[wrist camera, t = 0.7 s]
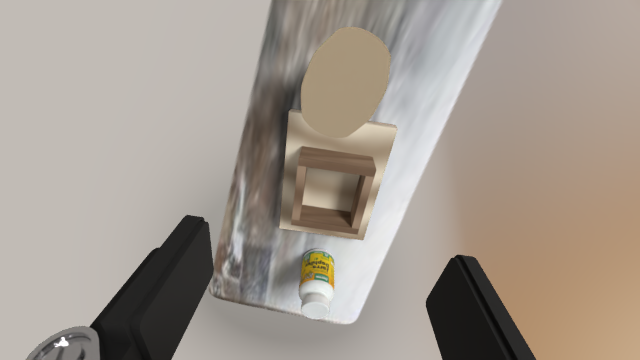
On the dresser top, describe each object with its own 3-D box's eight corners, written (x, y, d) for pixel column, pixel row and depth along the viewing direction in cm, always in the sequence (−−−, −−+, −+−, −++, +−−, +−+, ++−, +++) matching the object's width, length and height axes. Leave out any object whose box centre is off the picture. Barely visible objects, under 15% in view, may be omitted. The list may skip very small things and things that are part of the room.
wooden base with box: (290, 108, 31) (283, 121, 27) (395, 125, 32) (404, 139, 27) (281, 221, 40) (274, 244, 36) (362, 233, 41) (365, 257, 36)
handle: (308, 80, 30) (287, 118, 17) (333, 20, 26) (330, 10, 14) (346, 98, 30) (353, 148, 17) (373, 42, 27) (408, 52, 14)
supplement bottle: (304, 269, 46) (297, 322, 37) (301, 247, 43) (293, 299, 35) (335, 269, 45) (334, 322, 37) (333, 247, 43) (333, 299, 34)
